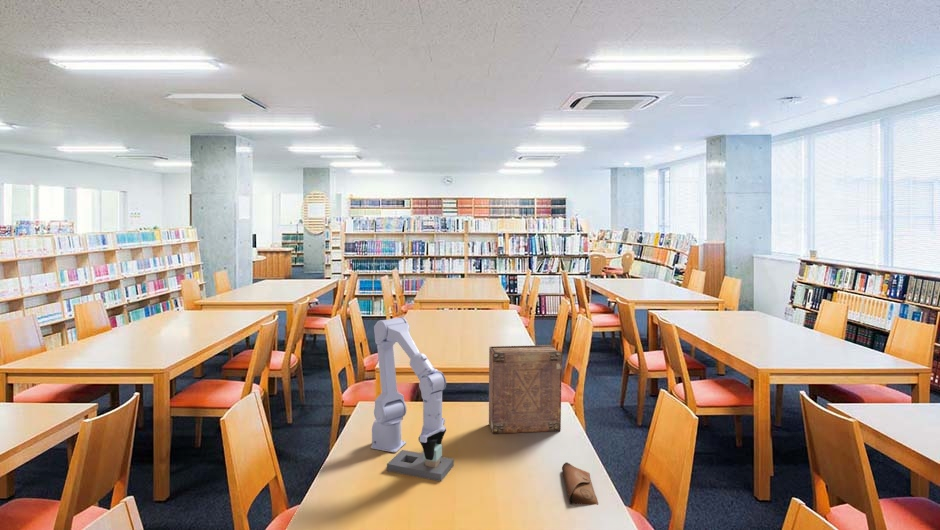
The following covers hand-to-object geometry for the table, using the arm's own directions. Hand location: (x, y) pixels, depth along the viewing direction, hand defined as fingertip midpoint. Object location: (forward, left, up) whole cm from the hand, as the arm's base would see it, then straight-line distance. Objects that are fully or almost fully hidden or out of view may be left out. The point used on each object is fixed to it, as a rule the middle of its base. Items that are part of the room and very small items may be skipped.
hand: (432, 455), depth 150 cm
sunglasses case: (+44, +6, -6) cm, 44 cm away
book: (+19, +41, -5) cm, 45 cm away
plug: (0, 0, -3) cm, 3 cm away
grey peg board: (-4, 0, -5) cm, 6 cm away
